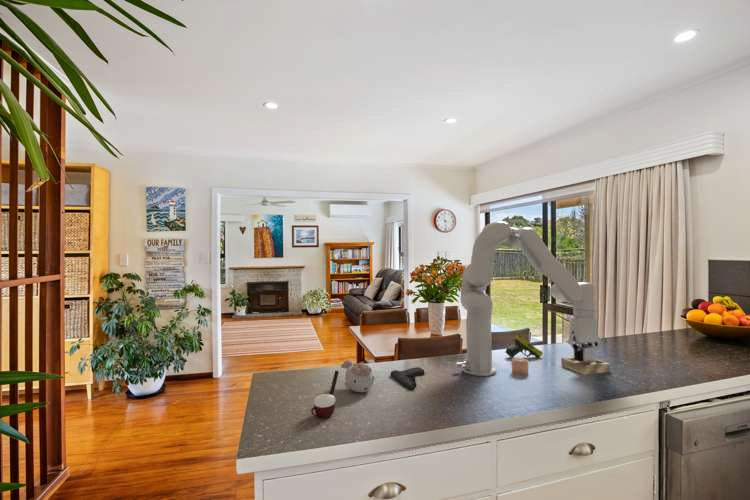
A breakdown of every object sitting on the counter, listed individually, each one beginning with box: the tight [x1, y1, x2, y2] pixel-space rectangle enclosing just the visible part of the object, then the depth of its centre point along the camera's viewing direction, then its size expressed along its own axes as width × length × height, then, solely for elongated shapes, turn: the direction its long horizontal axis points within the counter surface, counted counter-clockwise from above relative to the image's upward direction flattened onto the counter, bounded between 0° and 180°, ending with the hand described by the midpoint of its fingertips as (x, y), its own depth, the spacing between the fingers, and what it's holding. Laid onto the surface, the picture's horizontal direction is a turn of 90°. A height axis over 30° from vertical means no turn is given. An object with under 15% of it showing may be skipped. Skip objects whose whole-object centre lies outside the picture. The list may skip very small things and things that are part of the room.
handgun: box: [390, 366, 425, 391], centre depth 144 cm, size 2×18×13 cm
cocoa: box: [310, 370, 340, 419], centre depth 115 cm, size 10×6×12 cm, turn 110°
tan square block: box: [511, 357, 529, 376], centre depth 150 cm, size 6×6×5 cm
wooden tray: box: [560, 356, 611, 376], centre depth 154 cm, size 12×12×3 cm
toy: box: [340, 359, 375, 393], centre depth 137 cm, size 10×15×10 cm, turn 27°
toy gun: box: [505, 334, 543, 359], centre depth 171 cm, size 2×14×10 cm
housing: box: [573, 343, 597, 364], centre depth 154 cm, size 6×5×7 cm
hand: (584, 359), depth 154 cm, fingers closed on housing, 4 cm apart
